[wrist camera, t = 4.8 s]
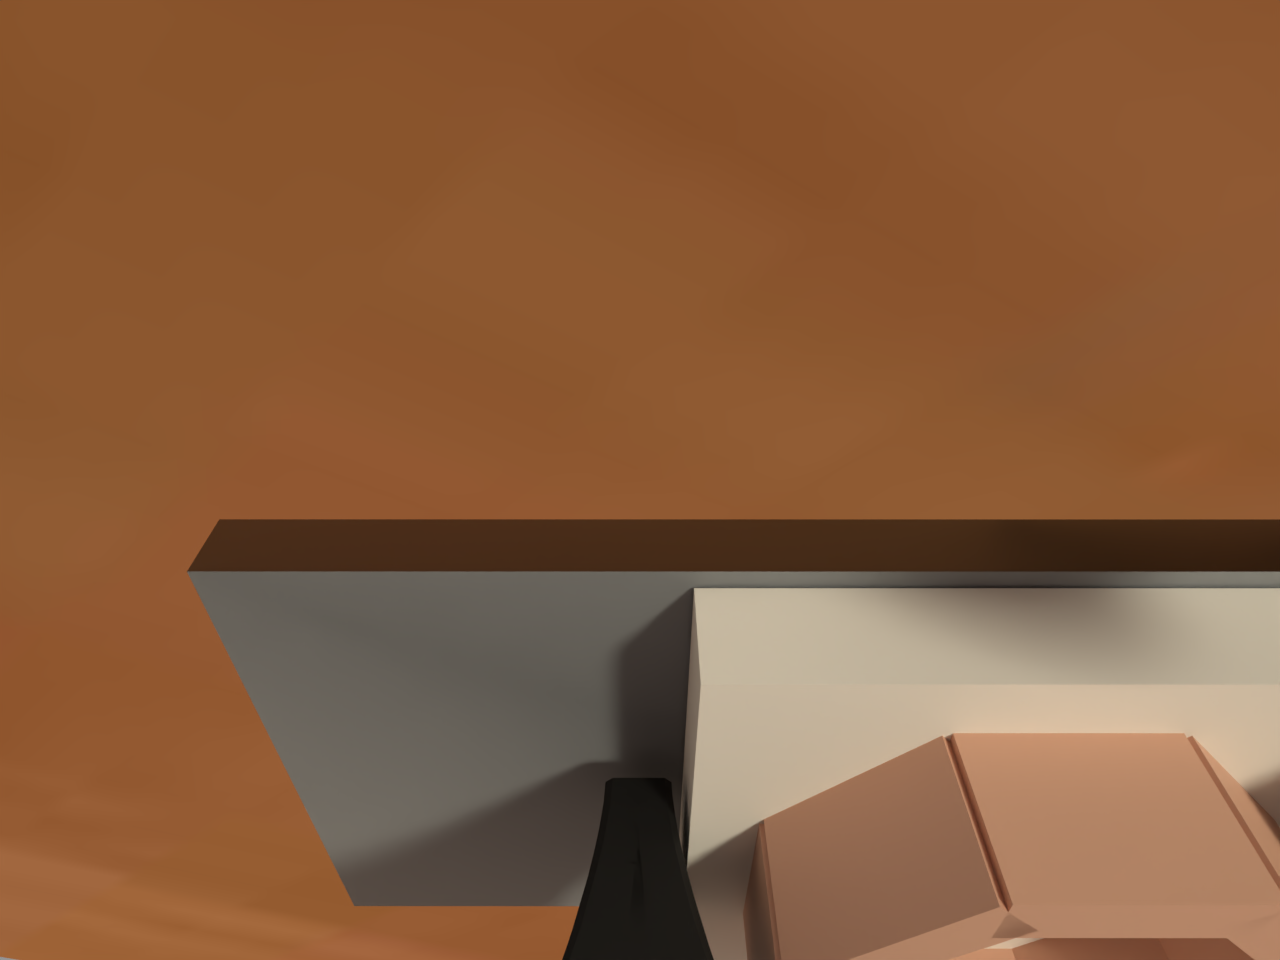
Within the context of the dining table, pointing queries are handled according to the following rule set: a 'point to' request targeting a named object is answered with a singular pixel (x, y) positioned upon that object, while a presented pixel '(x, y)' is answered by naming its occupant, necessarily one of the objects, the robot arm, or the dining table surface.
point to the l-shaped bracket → (569, 659)
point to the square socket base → (984, 773)
